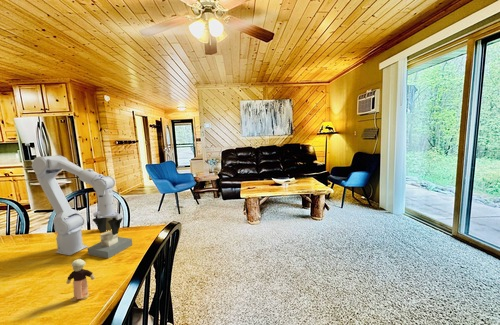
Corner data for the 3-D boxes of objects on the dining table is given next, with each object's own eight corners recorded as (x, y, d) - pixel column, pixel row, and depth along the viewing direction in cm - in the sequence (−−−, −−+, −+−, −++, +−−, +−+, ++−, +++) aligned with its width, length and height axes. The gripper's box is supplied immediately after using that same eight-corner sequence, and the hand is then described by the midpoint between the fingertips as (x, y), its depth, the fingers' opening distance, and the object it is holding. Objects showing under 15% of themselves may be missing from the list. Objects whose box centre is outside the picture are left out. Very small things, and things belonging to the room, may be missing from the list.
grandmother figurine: (64, 305, 64) (59, 266, 62) (69, 297, 67) (64, 259, 66) (95, 297, 67) (91, 259, 65) (98, 289, 70) (94, 253, 69)
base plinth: (88, 254, 93) (87, 248, 92) (113, 241, 104) (112, 235, 104) (108, 258, 89) (107, 251, 89) (132, 244, 100) (131, 238, 100)
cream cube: (101, 245, 94) (100, 234, 94) (110, 240, 99) (109, 230, 98) (109, 246, 93) (107, 235, 92) (118, 241, 97) (117, 231, 97)
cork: (111, 232, 115) (109, 212, 114) (102, 231, 117) (100, 212, 115) (120, 227, 121) (118, 208, 120) (111, 226, 123) (109, 208, 121)
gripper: (85, 205, 93) (88, 235, 94) (109, 208, 88) (113, 239, 90) (100, 200, 99) (103, 228, 101) (124, 203, 95) (127, 232, 96)
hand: (109, 233), depth 96 cm, fingers open, 7 cm apart
